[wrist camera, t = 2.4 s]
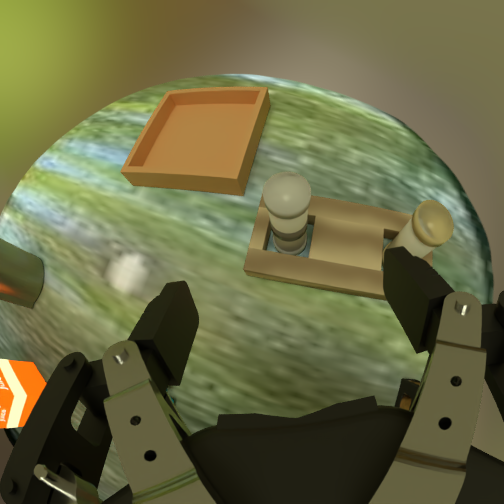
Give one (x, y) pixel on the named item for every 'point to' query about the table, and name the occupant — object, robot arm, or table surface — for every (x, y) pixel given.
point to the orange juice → (18, 391)
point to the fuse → (424, 230)
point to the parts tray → (200, 140)
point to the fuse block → (331, 248)
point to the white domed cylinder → (288, 211)
